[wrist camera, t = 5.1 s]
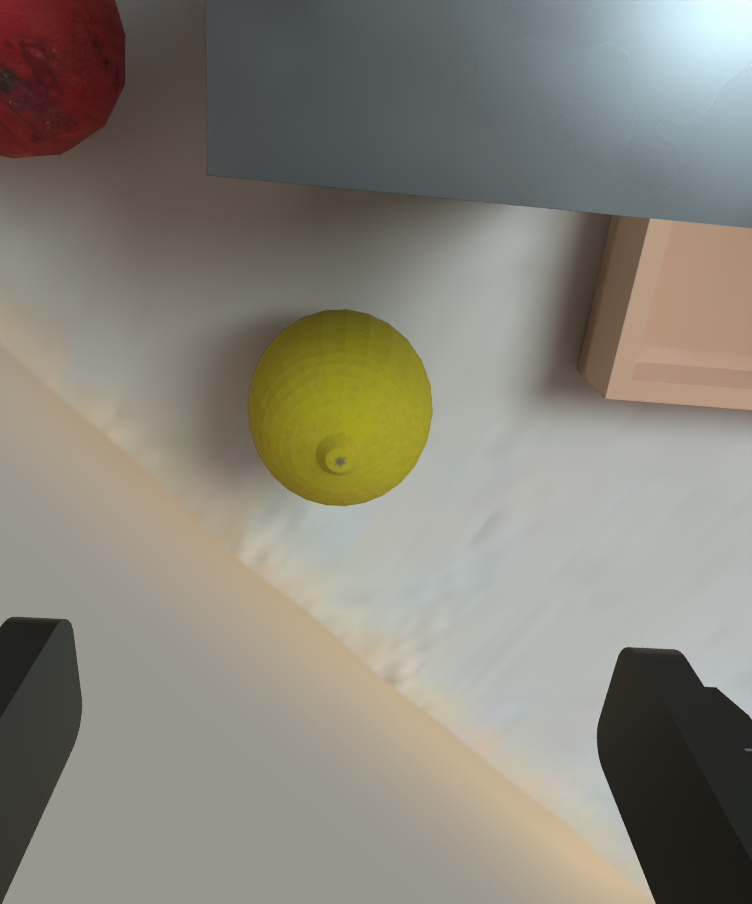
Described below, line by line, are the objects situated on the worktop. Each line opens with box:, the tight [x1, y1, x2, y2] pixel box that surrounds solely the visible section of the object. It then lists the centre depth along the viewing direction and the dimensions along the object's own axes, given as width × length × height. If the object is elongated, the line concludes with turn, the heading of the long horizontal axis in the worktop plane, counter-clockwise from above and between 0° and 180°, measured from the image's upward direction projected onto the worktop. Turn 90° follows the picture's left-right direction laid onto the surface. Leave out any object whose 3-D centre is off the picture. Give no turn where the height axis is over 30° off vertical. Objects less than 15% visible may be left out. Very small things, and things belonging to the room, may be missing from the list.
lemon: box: [248, 309, 432, 506], centre depth 21 cm, size 6×6×8 cm
